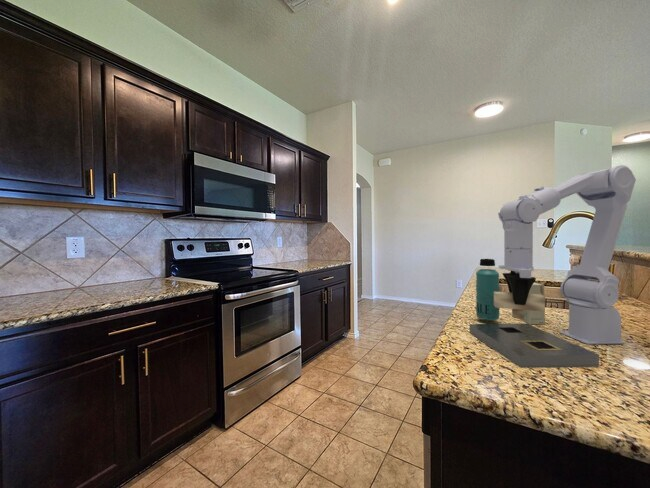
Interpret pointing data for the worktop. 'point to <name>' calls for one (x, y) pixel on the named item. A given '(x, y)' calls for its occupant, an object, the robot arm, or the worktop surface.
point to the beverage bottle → (487, 291)
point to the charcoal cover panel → (533, 346)
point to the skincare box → (535, 316)
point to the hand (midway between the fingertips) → (518, 302)
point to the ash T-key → (506, 301)
